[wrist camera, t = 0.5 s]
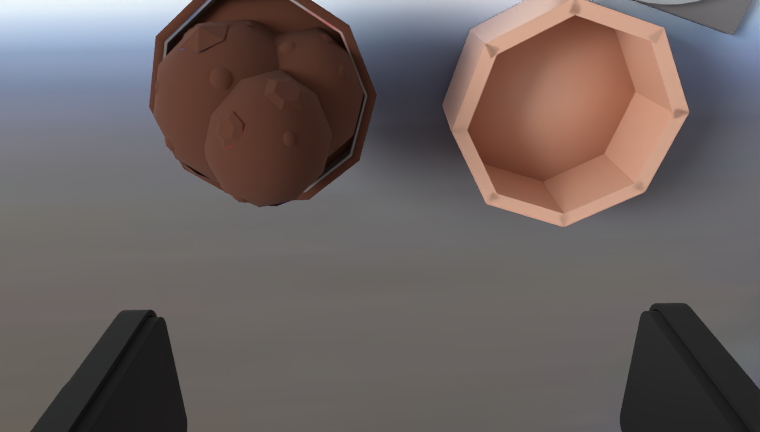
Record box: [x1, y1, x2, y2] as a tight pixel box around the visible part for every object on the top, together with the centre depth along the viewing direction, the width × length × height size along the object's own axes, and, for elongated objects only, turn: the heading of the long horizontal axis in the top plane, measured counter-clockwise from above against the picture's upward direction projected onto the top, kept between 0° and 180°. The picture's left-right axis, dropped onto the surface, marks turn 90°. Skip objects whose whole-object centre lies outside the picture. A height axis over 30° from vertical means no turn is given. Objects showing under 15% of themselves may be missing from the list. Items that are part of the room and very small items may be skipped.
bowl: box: [442, 0, 689, 227], centre depth 34 cm, size 12×12×6 cm
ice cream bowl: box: [149, 0, 376, 207], centre depth 30 cm, size 11×11×15 cm
